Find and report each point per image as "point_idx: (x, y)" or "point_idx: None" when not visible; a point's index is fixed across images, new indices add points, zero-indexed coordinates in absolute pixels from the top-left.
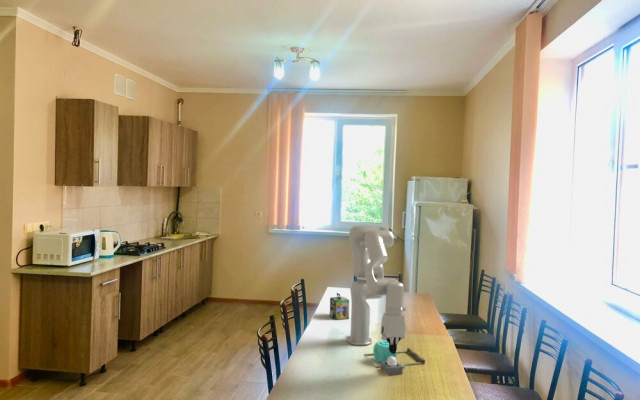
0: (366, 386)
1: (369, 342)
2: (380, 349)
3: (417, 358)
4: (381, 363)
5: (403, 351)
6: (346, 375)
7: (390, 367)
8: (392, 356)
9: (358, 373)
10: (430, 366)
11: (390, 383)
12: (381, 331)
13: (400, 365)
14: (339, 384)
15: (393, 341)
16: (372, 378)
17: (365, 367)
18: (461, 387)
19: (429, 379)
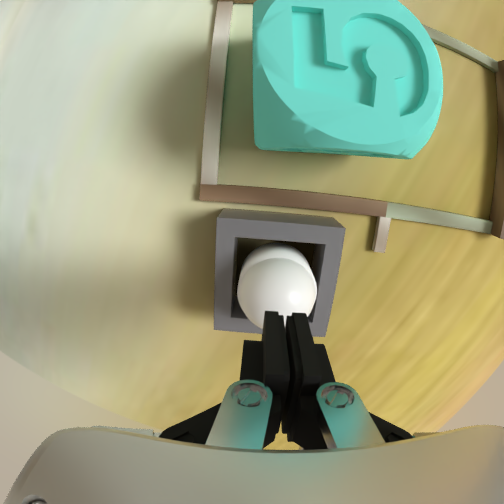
0: (86, 360)
1: None
2: (255, 117)
3: (500, 177)
4: (218, 223)
5: (480, 57)
6: (27, 243)
7: (237, 325)
8: (284, 310)
9: (74, 238)
10: (493, 269)
11: (193, 379)
12: (38, 502)
13: (325, 316)
14: (8, 307)
15: (303, 422)
16: (124, 312)
17: (133, 168)
18: (427, 431)
19: (392, 384)
